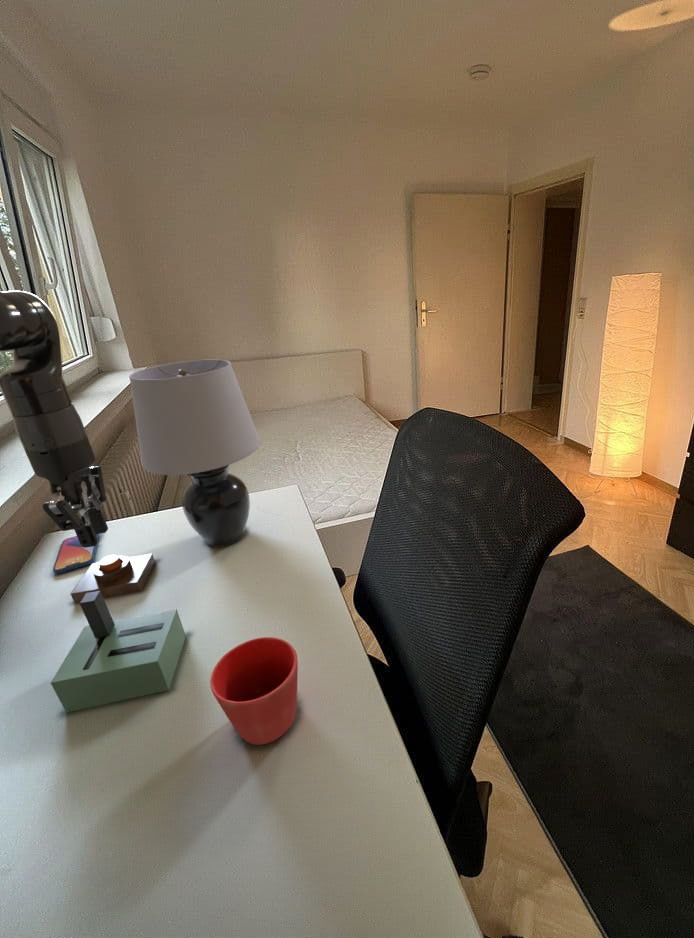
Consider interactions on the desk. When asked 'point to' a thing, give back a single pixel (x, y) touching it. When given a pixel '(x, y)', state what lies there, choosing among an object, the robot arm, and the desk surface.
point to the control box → (115, 577)
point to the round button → (109, 563)
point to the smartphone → (73, 555)
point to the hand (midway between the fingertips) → (95, 538)
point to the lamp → (197, 440)
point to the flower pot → (258, 688)
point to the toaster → (121, 661)
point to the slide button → (97, 614)
